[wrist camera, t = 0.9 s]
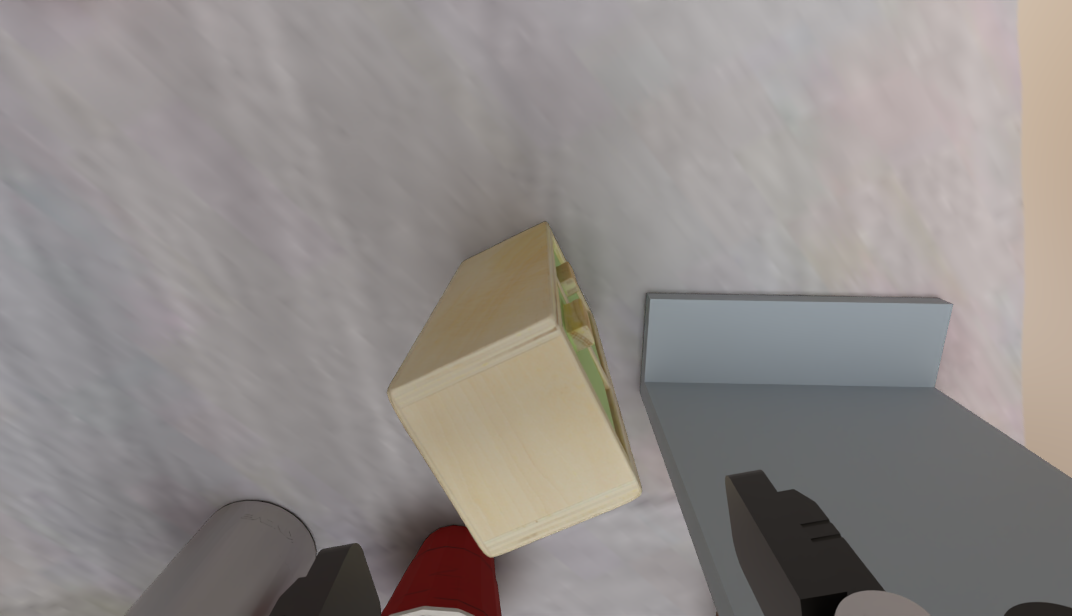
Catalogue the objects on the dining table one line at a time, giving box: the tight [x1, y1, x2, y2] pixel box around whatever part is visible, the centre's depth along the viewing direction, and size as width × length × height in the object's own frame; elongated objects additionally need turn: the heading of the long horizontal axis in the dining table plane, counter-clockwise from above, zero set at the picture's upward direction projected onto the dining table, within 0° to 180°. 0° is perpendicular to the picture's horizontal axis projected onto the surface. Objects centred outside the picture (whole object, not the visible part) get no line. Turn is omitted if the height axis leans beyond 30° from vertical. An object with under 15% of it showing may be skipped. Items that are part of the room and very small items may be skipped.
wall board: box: [640, 293, 1072, 616], centre depth 30 cm, size 15×20×26 cm
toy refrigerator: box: [387, 222, 642, 558], centre depth 31 cm, size 8×7×21 cm
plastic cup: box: [381, 525, 501, 616], centre depth 41 cm, size 11×11×12 cm
